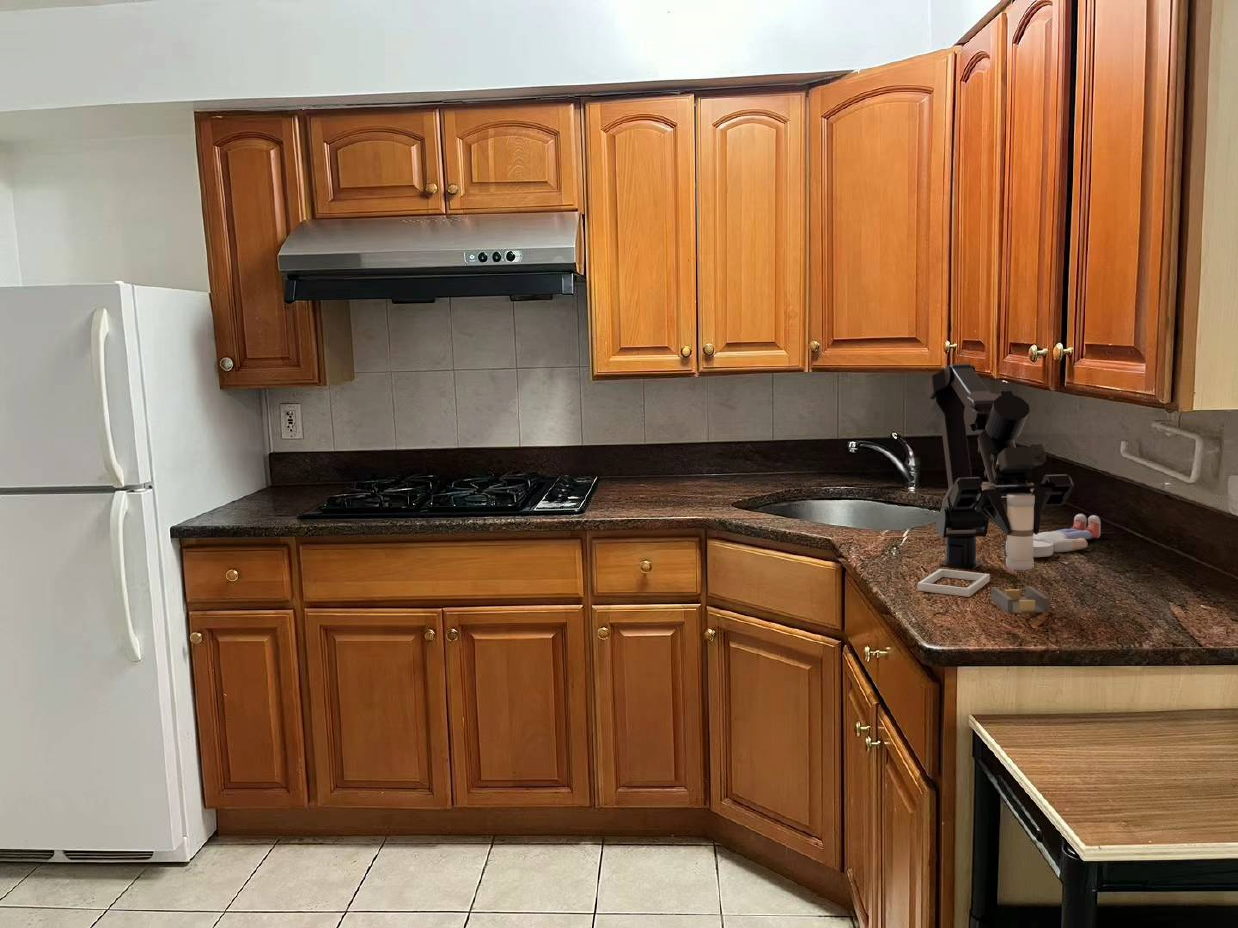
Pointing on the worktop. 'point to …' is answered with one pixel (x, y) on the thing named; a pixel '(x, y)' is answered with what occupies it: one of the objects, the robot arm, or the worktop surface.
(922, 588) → the parts tray
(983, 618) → the worktop surface
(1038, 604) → the fuse holder
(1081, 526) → the toy
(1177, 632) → the worktop surface
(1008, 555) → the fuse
